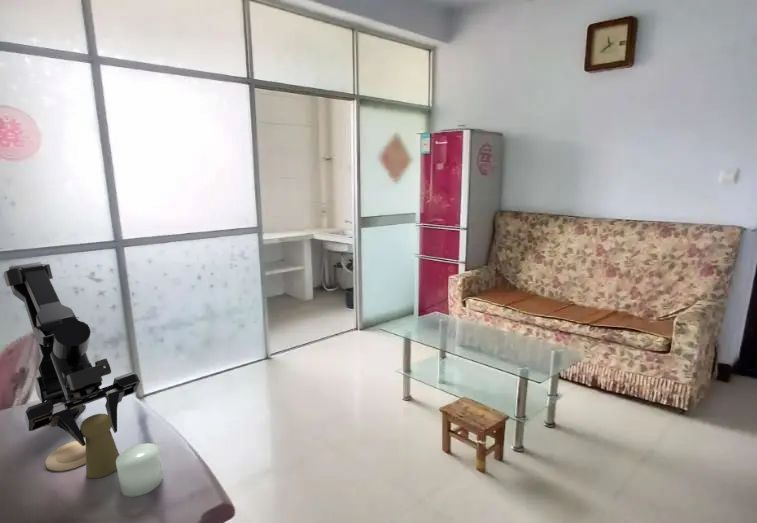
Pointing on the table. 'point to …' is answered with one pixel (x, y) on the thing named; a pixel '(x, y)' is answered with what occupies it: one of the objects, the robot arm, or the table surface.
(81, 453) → the trivet
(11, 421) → the table surface
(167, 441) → the table surface
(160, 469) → the pale mint rounded cylinder
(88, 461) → the pepper shaker
